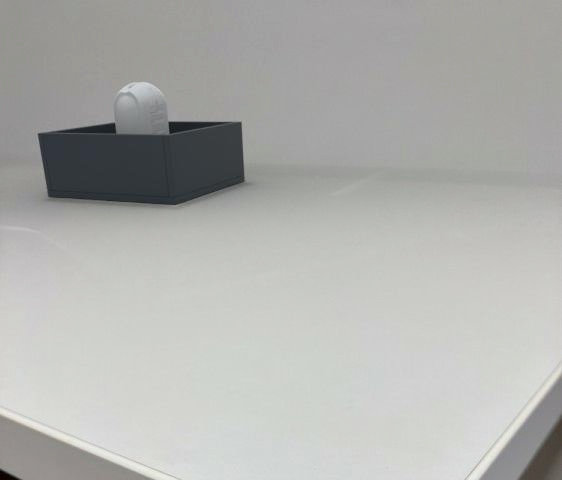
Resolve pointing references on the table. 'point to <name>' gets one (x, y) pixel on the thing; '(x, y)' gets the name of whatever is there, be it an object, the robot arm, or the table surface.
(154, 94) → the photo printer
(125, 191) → the bin
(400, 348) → the table surface
